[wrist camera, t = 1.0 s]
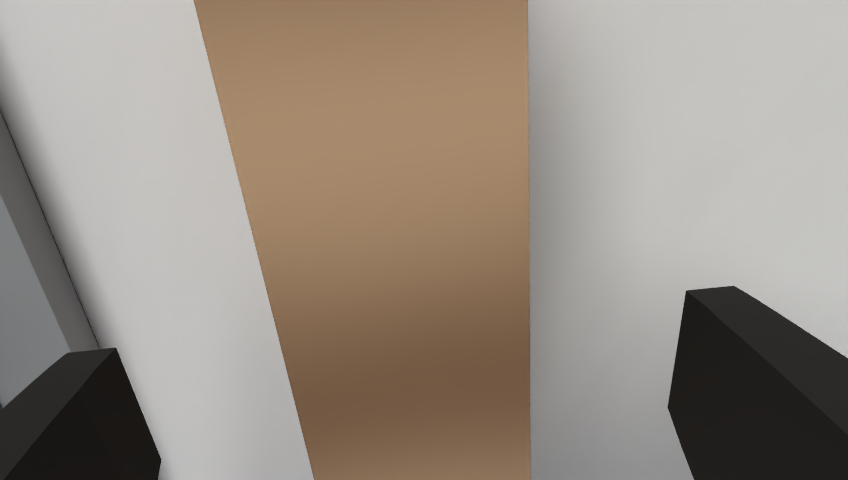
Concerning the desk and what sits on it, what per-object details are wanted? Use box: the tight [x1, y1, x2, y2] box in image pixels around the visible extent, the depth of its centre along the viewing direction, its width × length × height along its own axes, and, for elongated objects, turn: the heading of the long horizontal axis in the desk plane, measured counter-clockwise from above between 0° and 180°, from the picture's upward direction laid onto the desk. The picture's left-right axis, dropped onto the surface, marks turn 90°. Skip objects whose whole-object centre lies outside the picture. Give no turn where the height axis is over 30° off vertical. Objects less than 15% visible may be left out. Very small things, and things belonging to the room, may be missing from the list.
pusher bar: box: [194, 0, 531, 480], centre depth 11 cm, size 12×3×6 cm, turn 5°
